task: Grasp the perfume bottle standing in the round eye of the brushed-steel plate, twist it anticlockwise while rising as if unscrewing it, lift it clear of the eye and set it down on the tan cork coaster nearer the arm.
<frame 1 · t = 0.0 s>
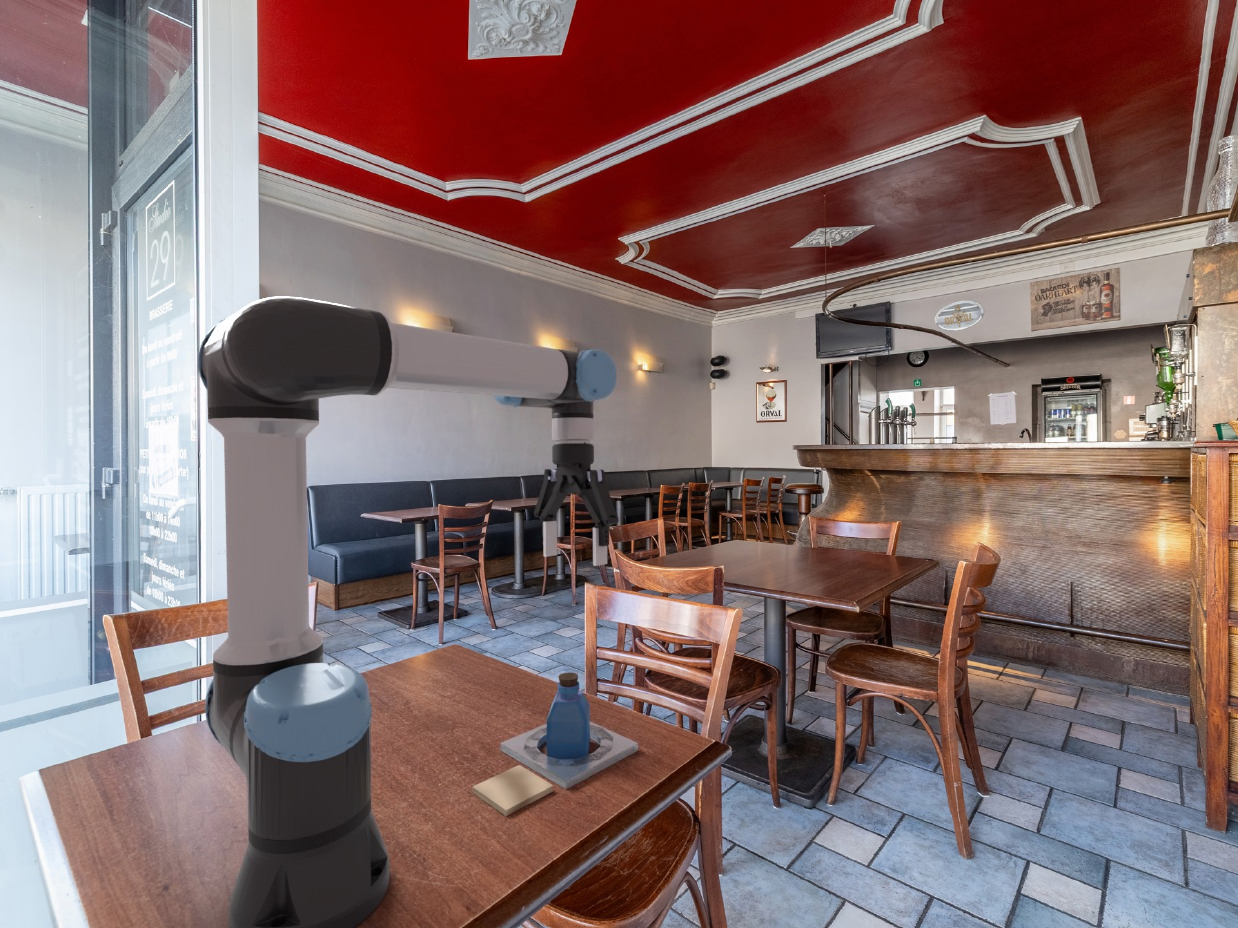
hand: (574, 560, 107), 28 cm above the table, fingers open, 13 cm apart
eye plate: (569, 750, 95), on the table
perfume bottle: (569, 752, 95), resting in eye plate
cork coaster: (512, 791, 83), on the table
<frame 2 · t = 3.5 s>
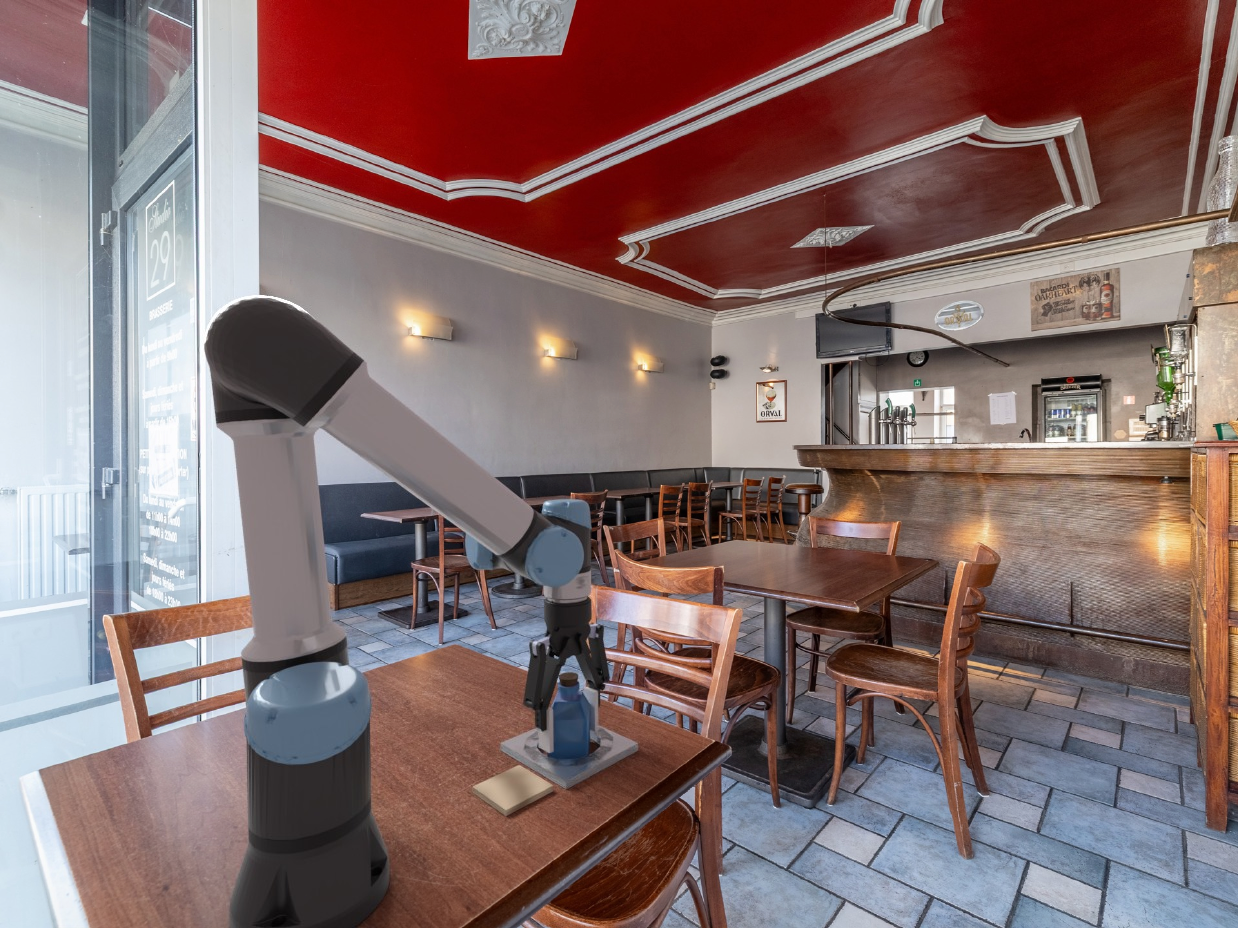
hand: (569, 738, 94), 2 cm above the table, fingers closed on perfume bottle, 9 cm apart
perfume bottle: (569, 751, 95), resting in eye plate, touching gripper
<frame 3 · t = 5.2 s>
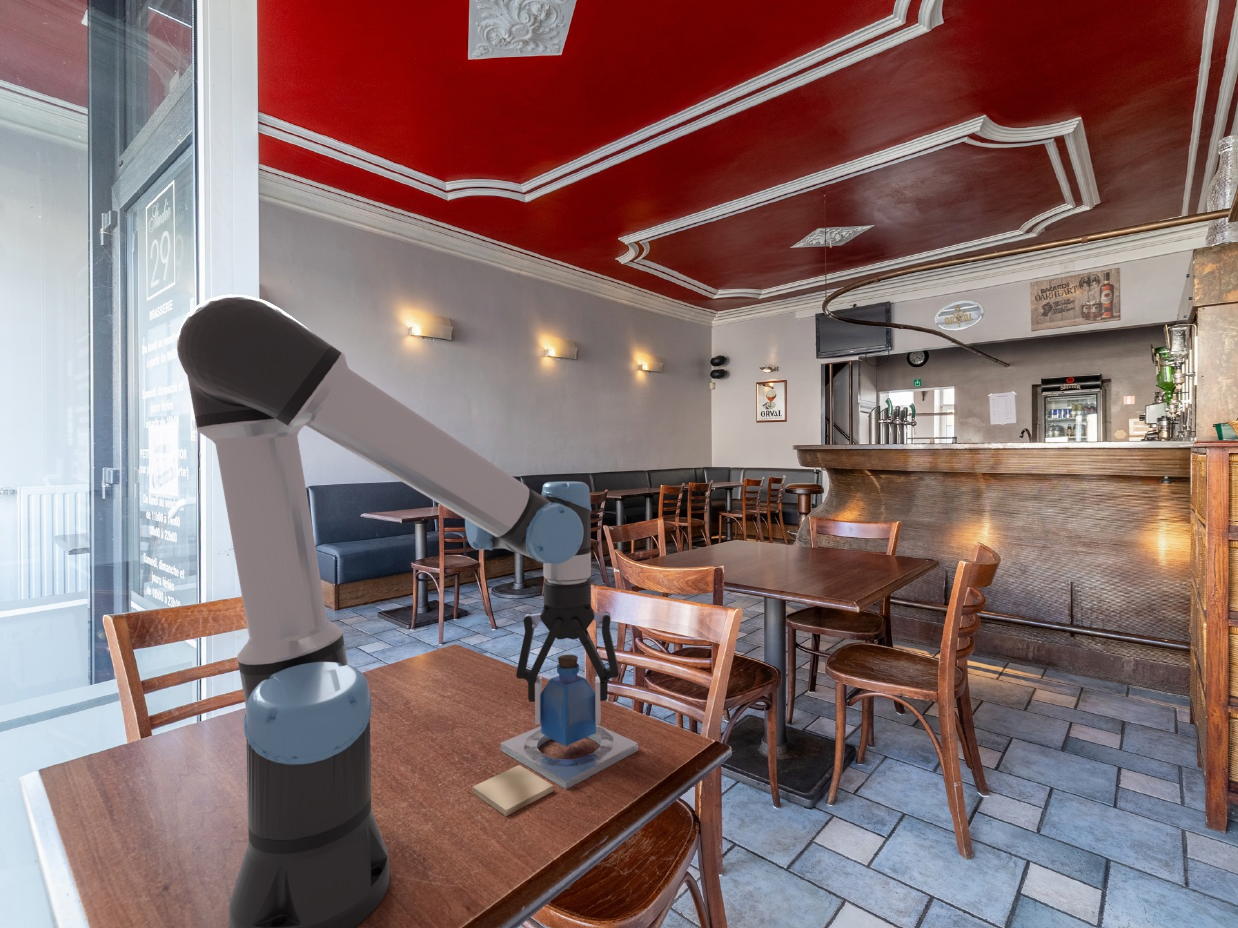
hand: (568, 720, 94), 5 cm above the table, fingers closed on perfume bottle, 9 cm apart
perfume bottle: (568, 733, 94), point 3 cm above the table, touching gripper
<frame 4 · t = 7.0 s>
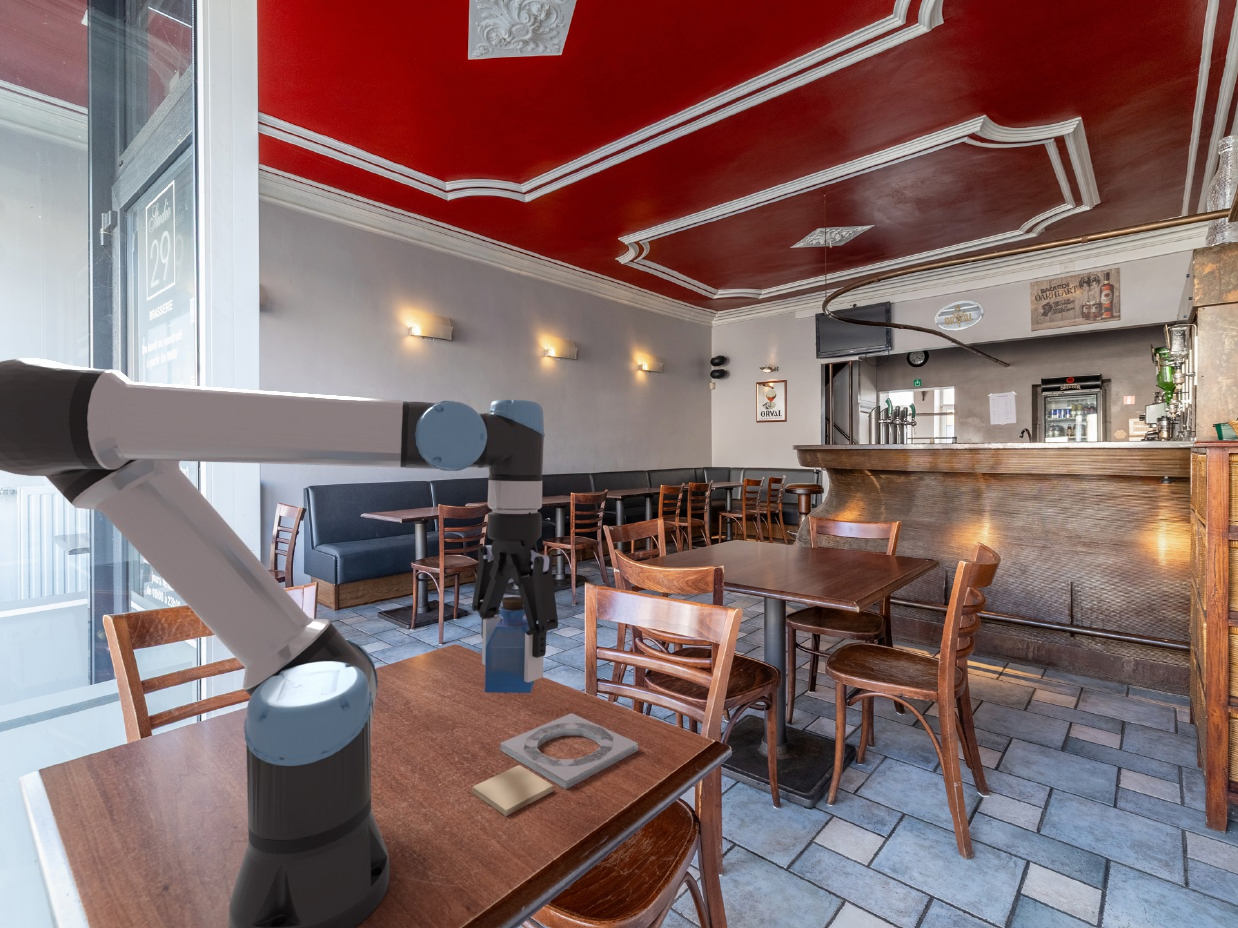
hand: (511, 670, 84), 17 cm above the table, fingers closed on perfume bottle, 9 cm apart
perfume bottle: (511, 685, 84), point 15 cm above the table, touching gripper
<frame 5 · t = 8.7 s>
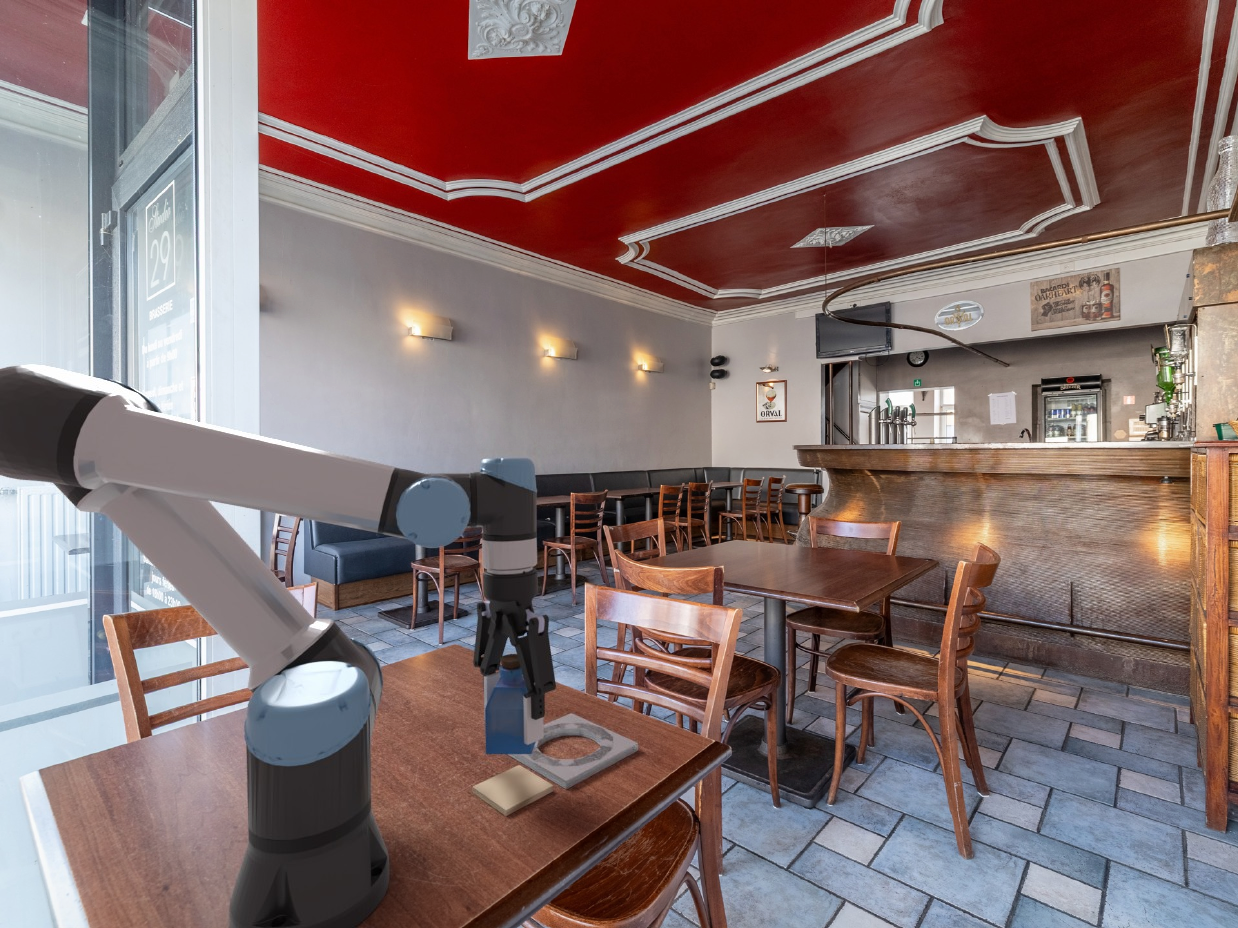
hand: (513, 729, 83), 9 cm above the table, fingers closed on perfume bottle, 9 cm apart
perfume bottle: (513, 744, 83), point 7 cm above the table, touching gripper
when the fingers open (4 cm above the table, at t = 10.5 s): perfume bottle drops 2 cm, resting on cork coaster.
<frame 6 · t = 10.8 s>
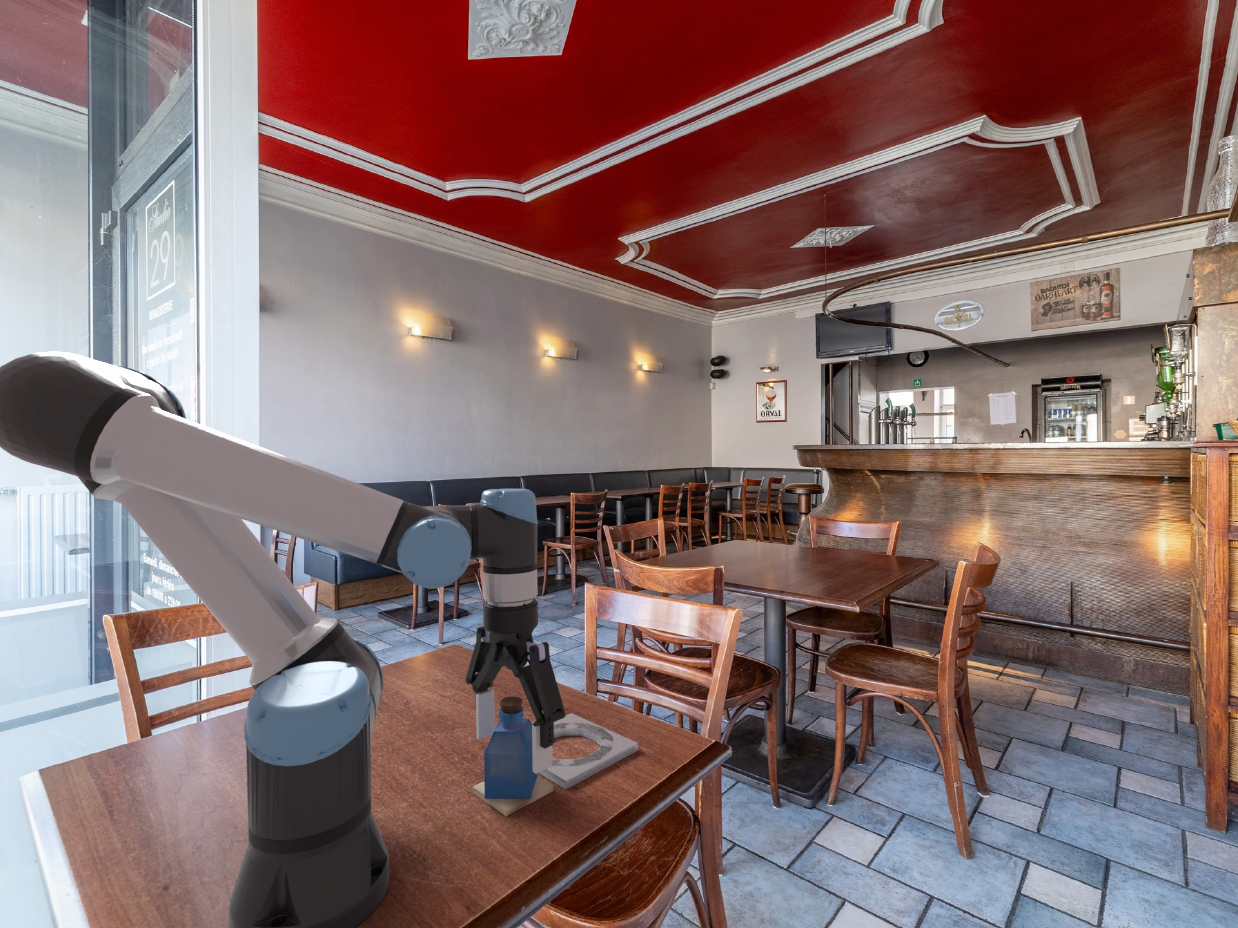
hand: (512, 751, 83), 6 cm above the table, fingers open, 13 cm apart
perfume bottle: (512, 787, 83), point 1 cm above the table, touching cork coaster
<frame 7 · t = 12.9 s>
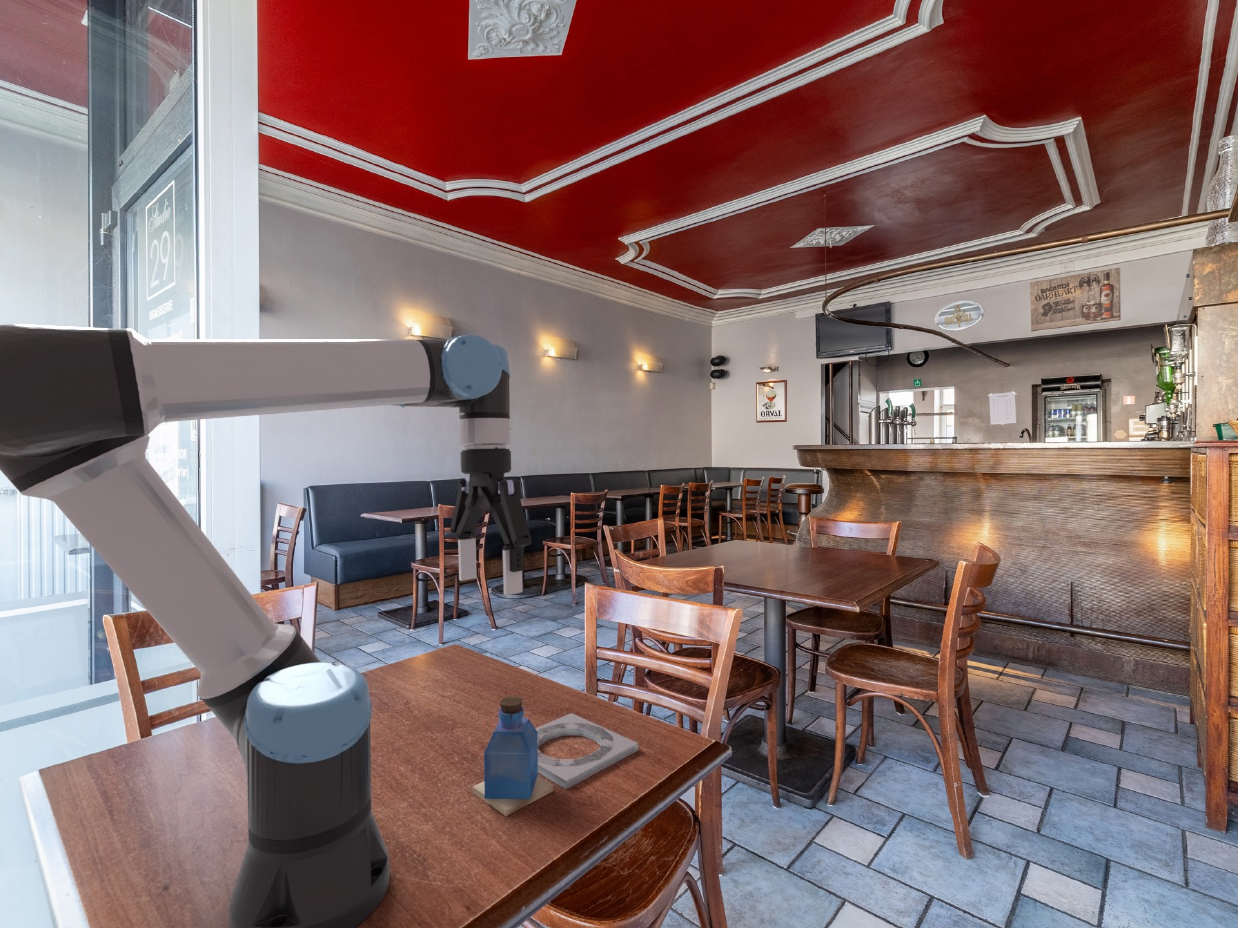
hand: (489, 586, 91), 27 cm above the table, fingers open, 13 cm apart
nothing on the table moved.
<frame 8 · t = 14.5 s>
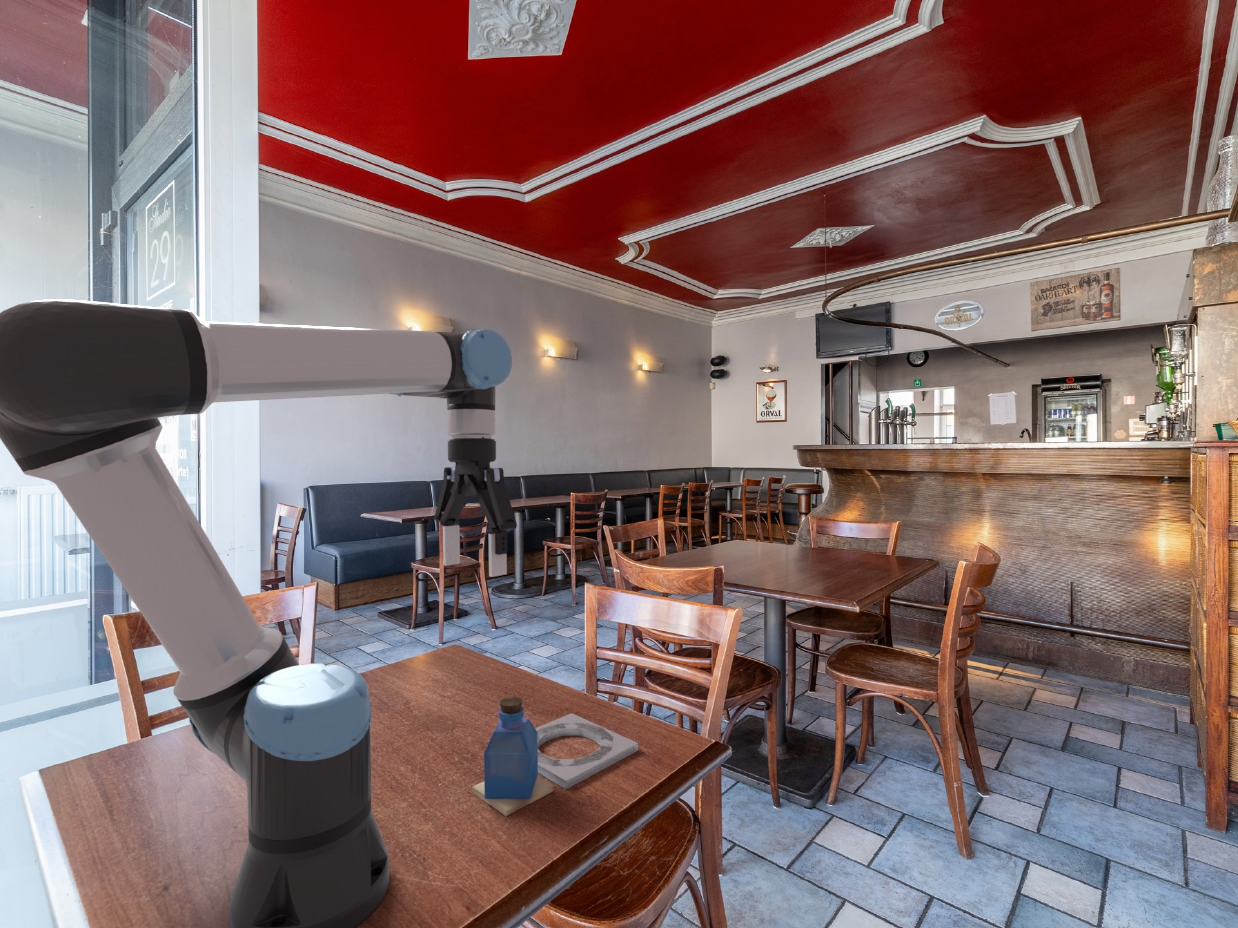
hand: (473, 569, 96), 29 cm above the table, fingers open, 13 cm apart
nothing on the table moved.
at the end: perfume bottle inside the target area on the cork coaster (0.1 cm from its centre), point 0.6 cm above the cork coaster's base; perfume bottle tilted 0°; the gripper is holding nothing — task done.
